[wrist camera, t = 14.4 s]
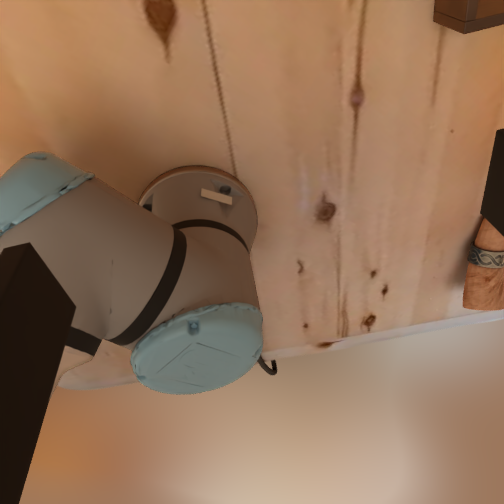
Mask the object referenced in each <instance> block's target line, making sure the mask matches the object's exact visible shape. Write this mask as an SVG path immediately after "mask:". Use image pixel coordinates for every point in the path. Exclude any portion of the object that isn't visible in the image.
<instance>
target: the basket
mask: <svg viewBox="0 0 504 504" xmlns="http://www.w3.org/2000/svg"><path fill="white" fill-rule="evenodd" d="M434 10H435V11H434V22H436V23H438V24H441V25H443V26H446V27H448V28H450V29H453V30H455V31H458V32H460V33H462V34H467V33H471V32H475V31H479V30H483V29H487V28H491V27H495V26H499V25H503V24H504V0H435V9H434Z"/></svg>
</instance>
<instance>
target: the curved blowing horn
mask: <svg viewBox="0 0 504 504" xmlns="http://www.w3.org/2000/svg"><path fill="white" fill-rule="evenodd" d="M468 261H469V265H468V269H467V274H466V280H465V285H464V293H463V307H464V308H468V309H474V310H501V309H504V237H503V236H502V235H501V234H500V233H499V232H498V231H497V230H496V229H495V228H494V227H493V226H492V225H491V224H490V223H489V222H488V221H487V219H486V218H485V217H484V219H483V222H482V224H481V226H480V229H479V232H478V234H477V237H476V240H475V241H474V242H472V244H471V248H470V251H469V255H468Z"/></svg>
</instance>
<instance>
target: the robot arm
mask: <svg viewBox="0 0 504 504" xmlns="http://www.w3.org/2000/svg"><path fill="white" fill-rule="evenodd" d="M480 213H481V214H482V215H483V216H484V217H485V218H486V219H487V221H488V222H489V223H490V224H491V225H492V226H493V227H494V228H495V229H496V230H497V231H498V232H499V233H500V234H501V235H502V236H503V237H504V129H500V130H497V132H496V137H495V142H494V147H493V151H492V156H491V161H490V166H489V171H488V176H487V181H486V186H485V191H484V196H483V201H482V206H481V211H480ZM256 230H257V213H256V208H255V204H254V201H253V199H252V196H251V195H250V193H249V191H248V190H247V188H246V187H245V186H244V185H243V184H242V183H241V182H240V181H239V180H238V179H236V178H235V177H233V176H232V175H230V174H228V173H226V172H224V171H222V170H219V169H216V168H212V167H206V166H185V167H180V168H177V169H173V170H171V171H168V172H166V173H164V174H162V175H161V176H159V177H157V178H156V179H155V180H154V181H152V182H151V183H150V184H149V185H148V187H147V188H146V189H145V191H144V192H143V194H142V196H141V198H140V200H139V203H138V204H137V203H135V202H134V201H132V200H130V199H129V198H127V197H126V196H124V195H123V194H121V193H119V192H118V191H116V190H115V189H113V188H112V187H110V186H108V185H107V184H105V183H104V182H102V181H101V180H99V179H97V178H96V177H95V175H94V174H93V173H91V172H85V171H83V170H82V169H80V168H78V167H76V166H74V165H72V164H70V163H69V162H67V161H65V160H63V159H62V158H60V157H58V156H56V155H54V154H52V153H48V152H34V153H30V154H28V155H26V156H24V157H22V158H21V159H20V160H19V161H17V162H16V163H15V164H14V165H13V166H12V167H11V168H10V169H9V170H8V171H7V172H6V173H5V174H4V175H3V176H2V177H1V178H0V504H19V501H20V498H21V495H22V491H23V488H24V484H25V481H26V478H27V474H28V471H29V467H30V464H31V460H32V457H33V454H34V450H35V447H36V443H37V440H38V437H39V433H40V430H41V426H42V423H43V419H44V416H45V413H46V409H47V406H48V403H49V400H50V398H51V396H52V394H53V392H54V390H55V388H56V386H57V384H58V382H59V380H60V378H61V376H62V375H63V374H64V373H65V372H67V371H68V370H70V369H72V368H75V367H77V366H79V365H82V364H84V363H86V362H89V361H91V360H92V358H93V357H94V355H95V353H96V351H97V349H98V347H99V345H100V343H101V341H102V339H105V340H108V341H110V342H113V343H115V344H117V345H120V346H122V347H125V348H127V349H130V350H131V351H132V354H131V361H130V362H131V365H132V367H133V372H134V373H135V374H136V376H137V379H138V380H139V381H140V382H141V383H142V384H143V385H144V386H146V387H148V388H150V389H152V390H155V391H158V392H162V393H167V394H196V393H202V392H205V391H210V390H214V389H217V388H220V387H223V386H225V385H228V384H230V383H232V382H234V381H235V380H237V379H239V378H240V377H242V376H243V375H244V374H246V373H247V372H248V371H249V370H250V369H251V368H252V367H253V366H254V365H255V363H256V362H257V361H258V363H259V364H260V366H261V367H262V368H263V369H264V370H265V371H266V372H267V373H268V374H270V375H275V374H276V373H277V365H276V360H271V364H272V369H270V368H269V367H268V366H267V365H266V364H265V363H264V361H263V360H262V358H261V355H260V354H261V352H262V347H263V334H262V321H263V317H262V313H261V312H260V307H259V302H258V297H257V292H256V287H255V281H254V276H253V271H252V266H251V261H250V256H249V254H250V251H251V248H252V245H253V241H254V238H255V235H256Z"/></svg>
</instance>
